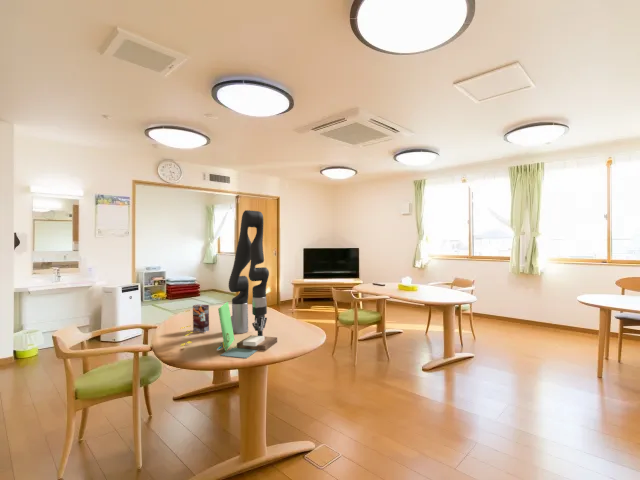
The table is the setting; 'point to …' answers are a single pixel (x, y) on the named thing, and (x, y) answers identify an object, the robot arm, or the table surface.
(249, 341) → the tile
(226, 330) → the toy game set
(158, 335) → the table surface
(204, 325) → the supplement box
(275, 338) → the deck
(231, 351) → the mat
